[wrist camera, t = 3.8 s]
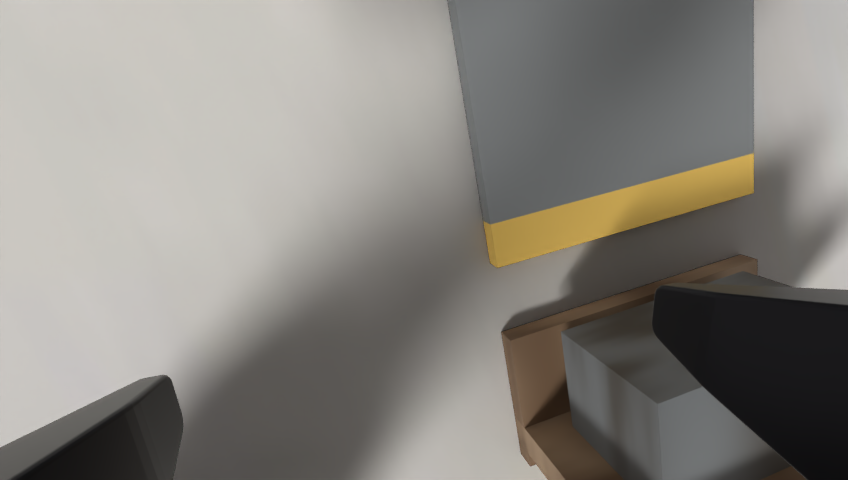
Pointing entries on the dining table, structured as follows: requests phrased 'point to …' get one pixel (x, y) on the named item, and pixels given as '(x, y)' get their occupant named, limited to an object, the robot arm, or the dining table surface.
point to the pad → (603, 114)
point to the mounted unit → (628, 395)
